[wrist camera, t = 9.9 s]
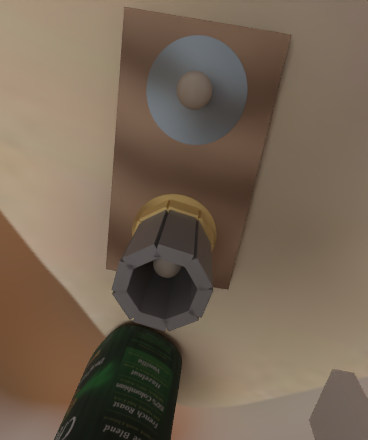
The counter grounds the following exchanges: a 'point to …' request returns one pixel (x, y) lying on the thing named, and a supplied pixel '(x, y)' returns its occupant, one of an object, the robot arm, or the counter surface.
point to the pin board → (191, 126)
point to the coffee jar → (126, 389)
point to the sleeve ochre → (172, 252)
